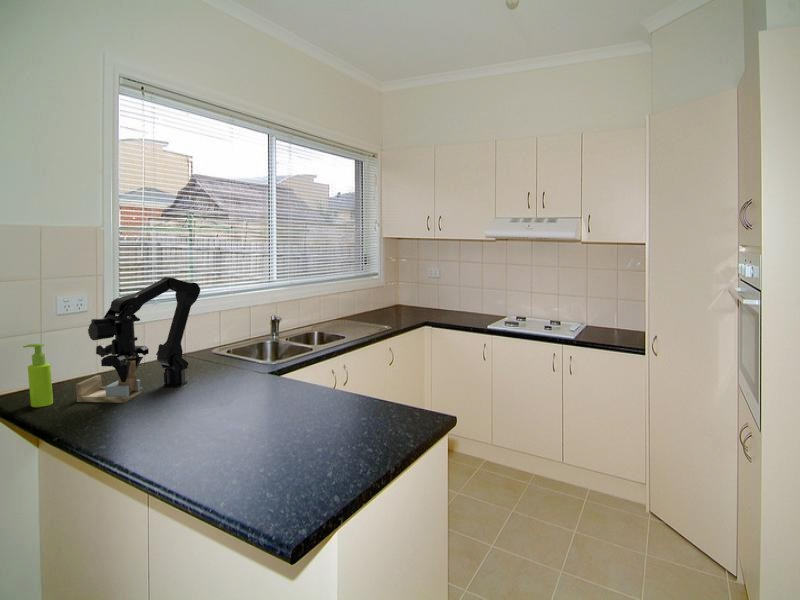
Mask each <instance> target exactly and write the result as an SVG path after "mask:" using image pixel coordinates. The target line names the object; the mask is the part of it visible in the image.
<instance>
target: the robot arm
mask: <svg viewBox="0 0 800 600" xmlns="http://www.w3.org/2000/svg"><path fill="white" fill-rule="evenodd" d="M170 290H171V291H173V292H175V295H174V296H175V299H176V300H175V301H176V305H175V306H176V307H175V310H174V315H173V318H172V322H171V325H170V328H169V332H168V335H167V339H166V341H165V342H164V343H163V344H162V343H161V344H158V348H157V352H156V354H155V355H156V360H157V362H158V363H159V364H160V366H161V368H162V369H164V372H163V385H162V386H163V387H175V388H176V387H179V388H180V387H182V386H184V385H185V384H186V383H188V380H186V370H187V369H188V368H189V364H190V363H189V362H188V361H187V360H186V359H184V358H183V353H184V352H183V347H182V342H183V341H182V340H183V337H184V334H185V331H186V326H187V321H188V318H189V315H190V312H191V309H192V308H191V307H192V306H193V305H194V304H195V303H196V302H197V300H198V298H199V296H200V293H201V287H200V286H199V284H198V283H197V282H194V281H193V282H192V281H184V280H180V279H177V278H175V277H173V276H172V277H171V276H163V277H162V278H161V279H160V280H158V281H156V282H154V283H151V284H150V285H149V286H147V287H145V288H143V289H141V290H139V291H137V292H135V293H132V294H127V295H123V296H120V297H117V298H115V299H113V300H112V301H111V302H110V307H109V309H108V310H107V311H106V314H105V315H104V316H103V318H93V319H91V321H90V324H89V325H88V329H87V334H88V336H89V338H90V340H92V341H99V340H100V341H101V340H106V339H110V338H111V339H112V338H114V339H112V340H111V344H107V345H105V344H104V343H102V344H100V345H99V344H98V345H96V348H95V354H96V355H98V356H100V358H102V359H101V360H100V364H101V365H100V366H101V367H112V368H114V369H115V370H116V372H117V376H118V375H119V377H120V379H121V381H122V382H126V379H127V375H128V371H129V367H130V363H127V360H136V371H137V370H138V367H139V365H140V363H141V361H142V360H143V358H144V357H143V356H146V355H149V354H150V353H149V348H148V347H147V345H136V341H138V336H135V322H139V321H141V319H140V317H138V316H136V313H137V312H138V311H139V310H140V309H142V307H143V305H145V304H146V303H148V302H149V301H151V300H154V299H155V298H157V297H158V296H161V295H163V294H164V293H165V292H167V291H170ZM140 354H142V355H143V356H140Z"/></svg>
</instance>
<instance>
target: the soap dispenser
mask: <svg viewBox="0 0 800 600" xmlns="http://www.w3.org/2000/svg"><path fill="white" fill-rule="evenodd" d="M42 347H45V344H44V343H30V344H26V345H23V346H22V348H34V353H33V354H32V355H31V364H30V365H28V366H27V374H28V388H29V397H30V398H29V399H30V407H32V408H42V407H47V406H51V405H53V403H54V397H53V394H54V393H53V385H52V384H53V383H52V381H53V380H52V369H51V368H52V366H51V363H49V362H46V354H45V353H43V352H42Z"/></svg>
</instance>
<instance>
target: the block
mask: <svg viewBox="0 0 800 600" xmlns="http://www.w3.org/2000/svg"><path fill="white" fill-rule="evenodd" d="M104 387H105V390H106V396H118V397H126V398H127V397H129V386H125V385H118V380H116V381H114V382H112V383H110V384H107V385H106V386H104ZM141 387H142V386H141V380H140V379H137V389H135V390H133V391H139V390H141Z"/></svg>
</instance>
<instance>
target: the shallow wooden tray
mask: <svg viewBox="0 0 800 600" xmlns="http://www.w3.org/2000/svg"><path fill="white" fill-rule="evenodd" d="M102 385H103V383H102V375H101V374H96V375H94V376H91V377H90V378H86V379H85V380H82V381H80V382H78V383H76V384H75V389H76V391H75V392H76V402H77V403H116V404H117V403H121V404H122V403H123V404H124V403H125V404H126V402H128V401H131V400H132V399H135V397H137V396H138V395H141V394H142V393H143V391H144V390H143V389H144V388H143V387H142V386H141V390H139V391H132V392H129V397H127V398H126V397H118V396H106V390H105V387H106V386H102Z"/></svg>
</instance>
